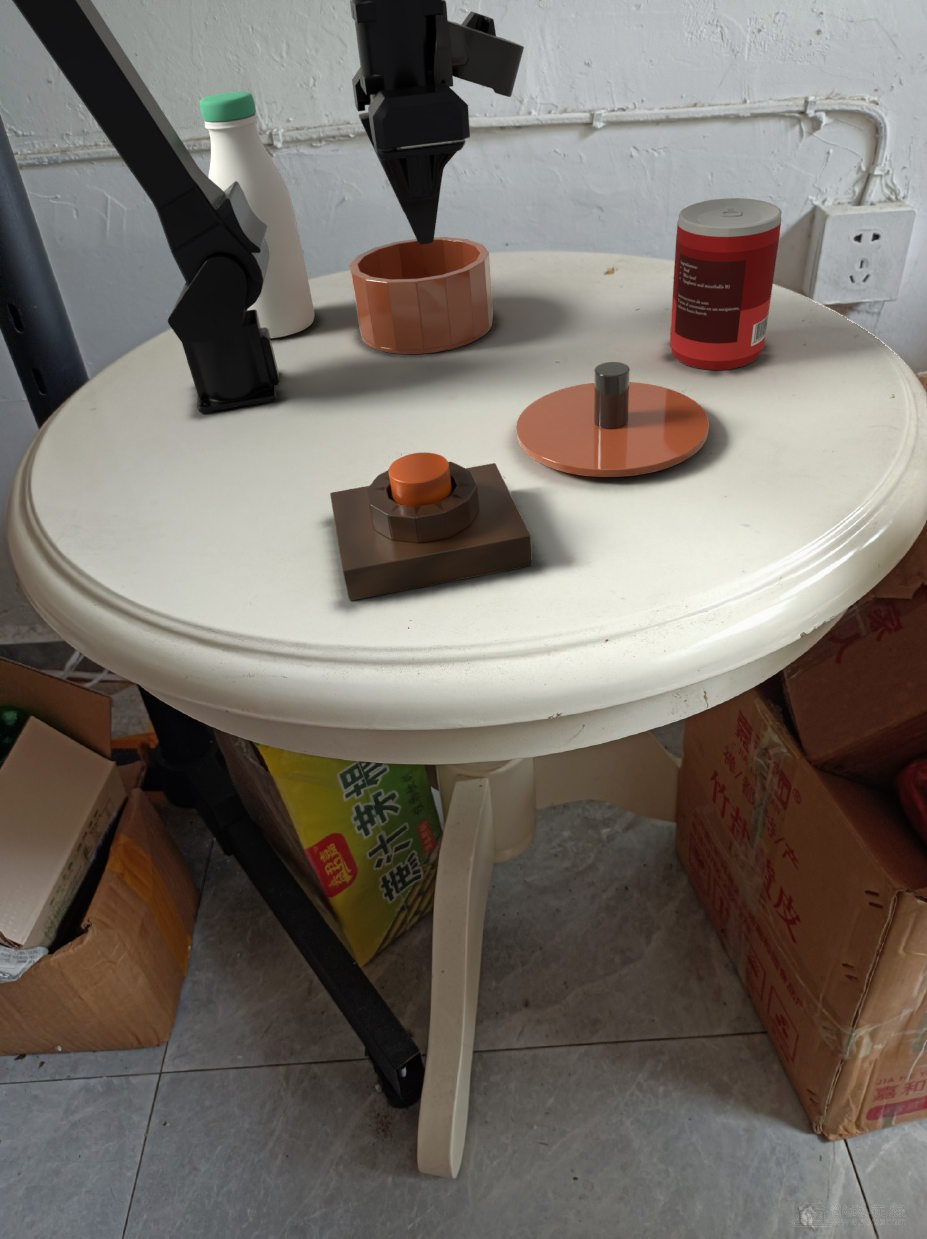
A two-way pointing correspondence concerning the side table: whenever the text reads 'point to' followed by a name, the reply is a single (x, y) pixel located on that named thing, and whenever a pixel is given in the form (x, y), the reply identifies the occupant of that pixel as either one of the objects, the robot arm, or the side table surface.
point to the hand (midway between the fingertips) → (417, 227)
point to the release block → (428, 534)
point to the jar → (423, 295)
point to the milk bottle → (261, 209)
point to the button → (420, 479)
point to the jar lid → (612, 426)
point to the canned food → (723, 281)
